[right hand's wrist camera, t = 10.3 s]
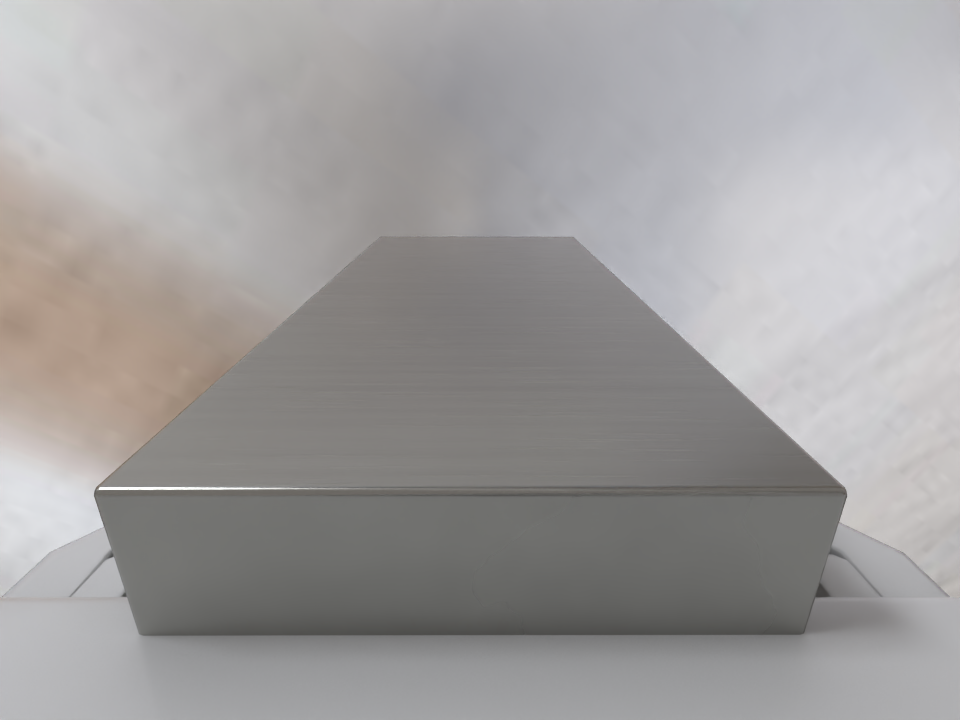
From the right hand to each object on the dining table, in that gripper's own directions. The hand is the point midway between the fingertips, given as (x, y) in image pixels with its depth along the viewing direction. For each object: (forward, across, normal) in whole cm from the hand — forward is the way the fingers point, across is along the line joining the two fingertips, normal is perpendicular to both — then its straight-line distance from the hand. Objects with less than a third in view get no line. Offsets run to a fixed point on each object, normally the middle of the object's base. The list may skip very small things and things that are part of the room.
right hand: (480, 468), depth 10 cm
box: (+8, 0, -9) cm, 12 cm away
